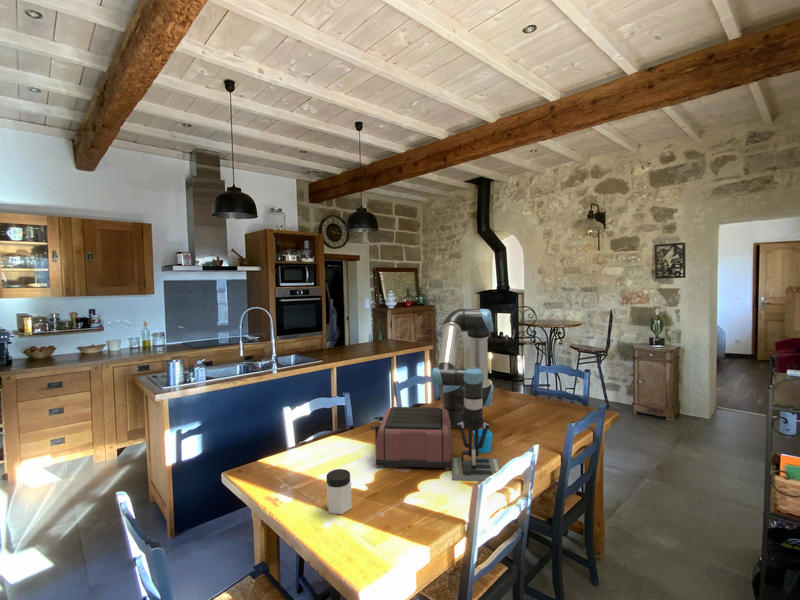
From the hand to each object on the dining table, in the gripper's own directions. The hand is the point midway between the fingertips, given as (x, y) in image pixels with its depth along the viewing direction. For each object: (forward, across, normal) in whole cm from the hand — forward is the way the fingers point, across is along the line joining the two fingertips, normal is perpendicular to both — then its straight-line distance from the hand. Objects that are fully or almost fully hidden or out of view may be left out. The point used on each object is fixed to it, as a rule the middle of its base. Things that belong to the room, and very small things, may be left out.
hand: (473, 463), depth 167 cm
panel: (+3, +1, 0) cm, 3 cm away
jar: (+3, -49, -30) cm, 57 cm away
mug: (+3, +7, +23) cm, 24 cm away
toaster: (+4, -26, +15) cm, 31 cm away
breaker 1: (+1, -3, +5) cm, 6 cm away
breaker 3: (+1, -3, -5) cm, 6 cm away
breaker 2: (+1, -2, 0) cm, 3 cm away
